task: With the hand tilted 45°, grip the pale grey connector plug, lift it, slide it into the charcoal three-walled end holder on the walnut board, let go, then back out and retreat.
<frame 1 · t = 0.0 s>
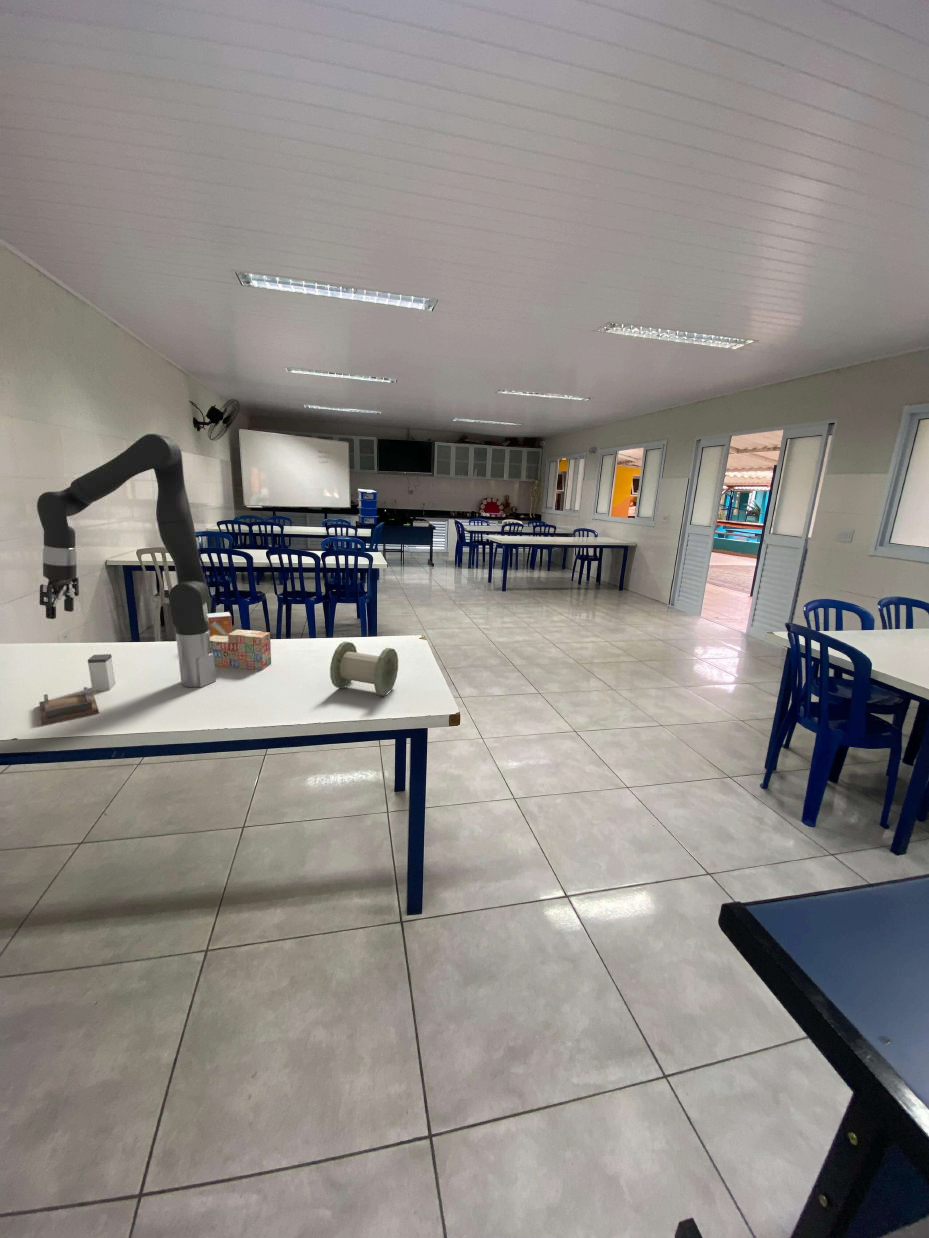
hand: (60, 614, 143), 22 cm above the table, tool pointing down, fingers open, 8 cm apart
connector plug: (104, 687, 148), on the table
small box: (221, 646, 189), on the table
stack of blocks: (239, 665, 173), on the table
spool: (365, 690, 158), on the table
holder board: (69, 709, 134), on the table
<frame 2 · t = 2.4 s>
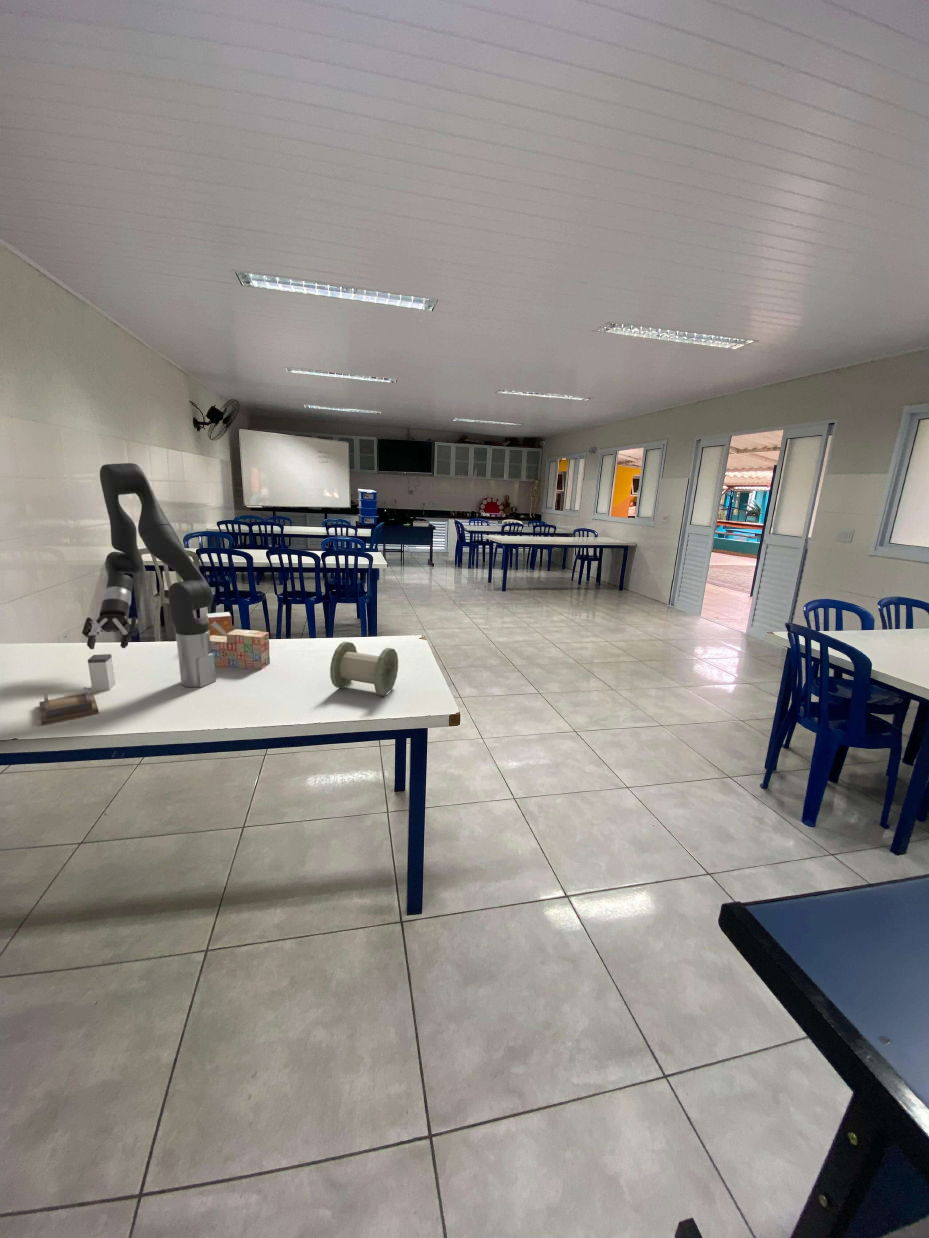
hand: (107, 647, 151), 11 cm above the table, tool tilted 45°, fingers open, 8 cm apart
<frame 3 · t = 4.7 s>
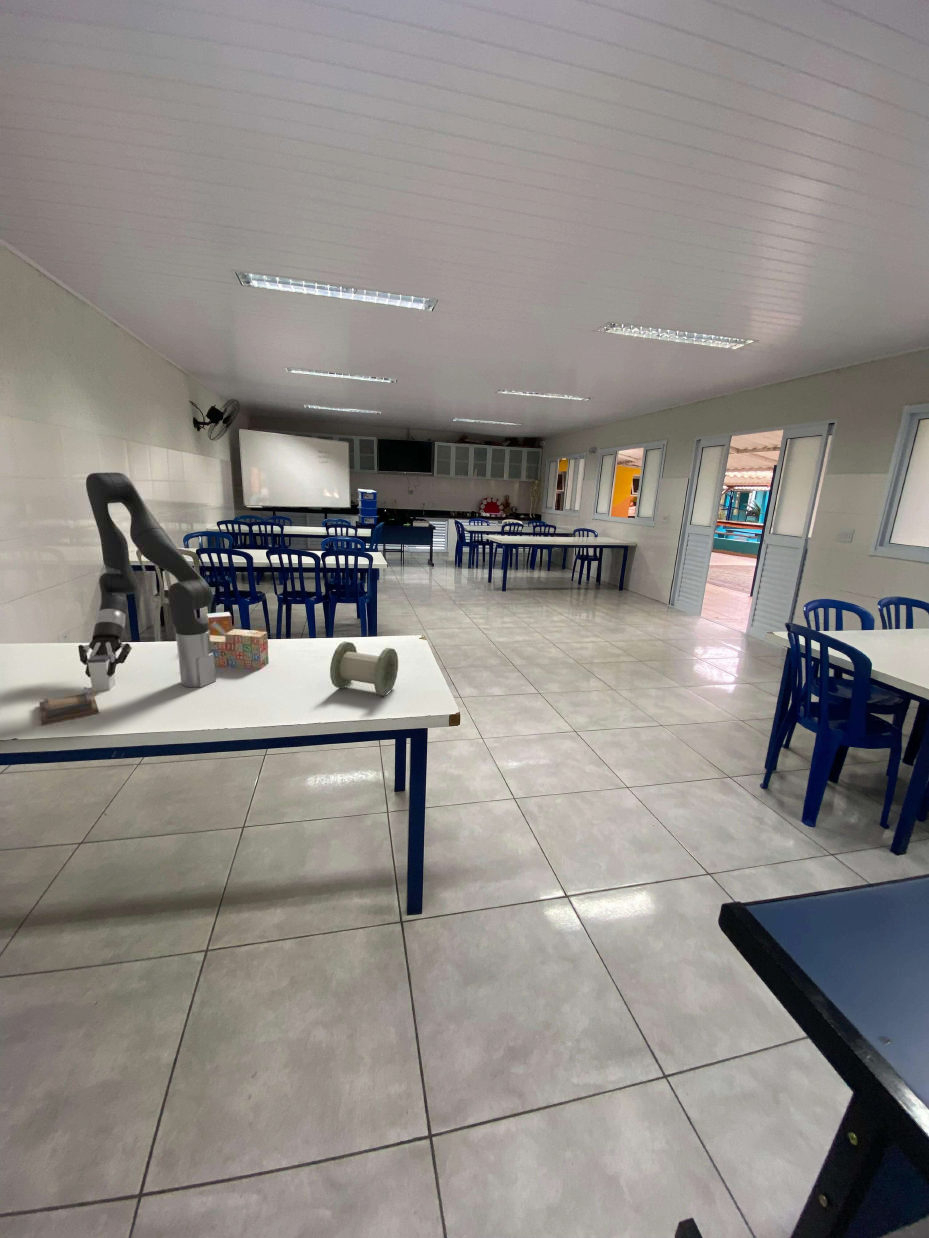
hand: (99, 675, 145), 5 cm above the table, tool tilted 45°, fingers closed on connector plug, 4 cm apart
connector plug: (104, 687, 148), on the table, touching gripper
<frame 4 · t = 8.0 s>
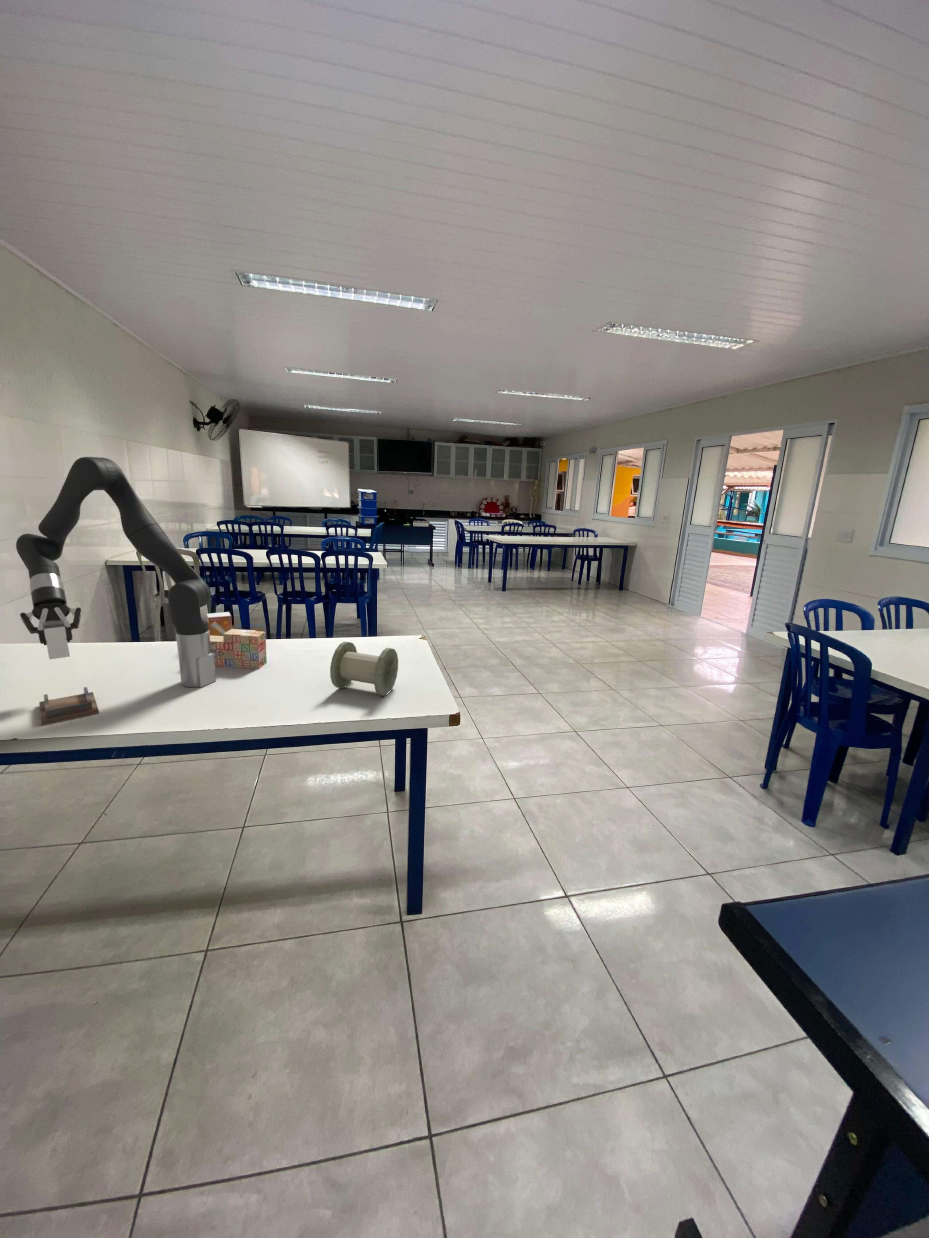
hand: (57, 642, 136), 17 cm above the table, tool tilted 45°, fingers closed on connector plug, 4 cm apart
connector plug: (59, 655, 139), point 12 cm above the table, touching gripper
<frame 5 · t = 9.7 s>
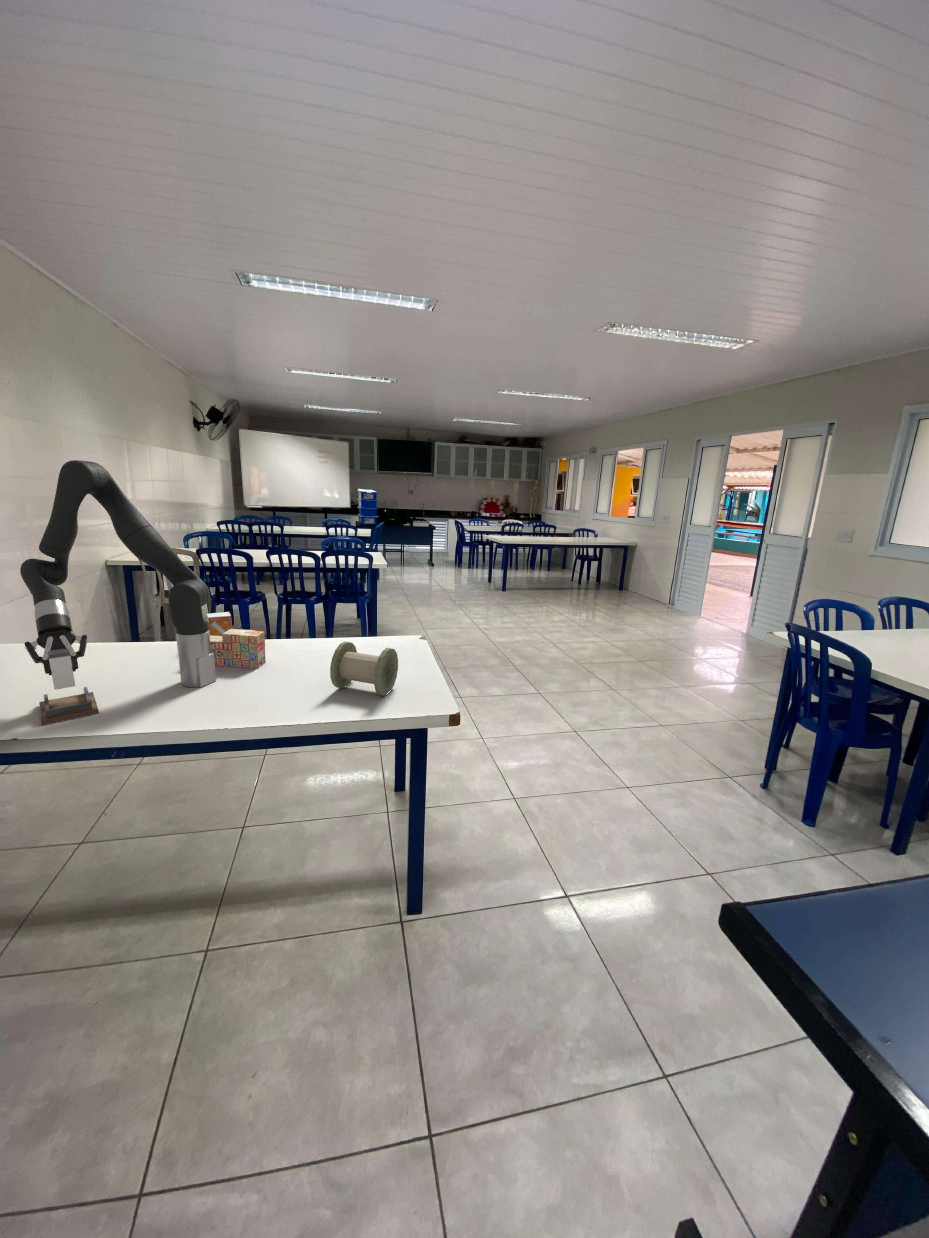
hand: (62, 671, 132), 11 cm above the table, tool tilted 45°, fingers closed on connector plug, 4 cm apart
connector plug: (64, 685, 134), point 6 cm above the table, touching gripper
when the fingers open (7 cm above the table, at t = 11.3 s): connector plug drops 1 cm, resting on holder board.
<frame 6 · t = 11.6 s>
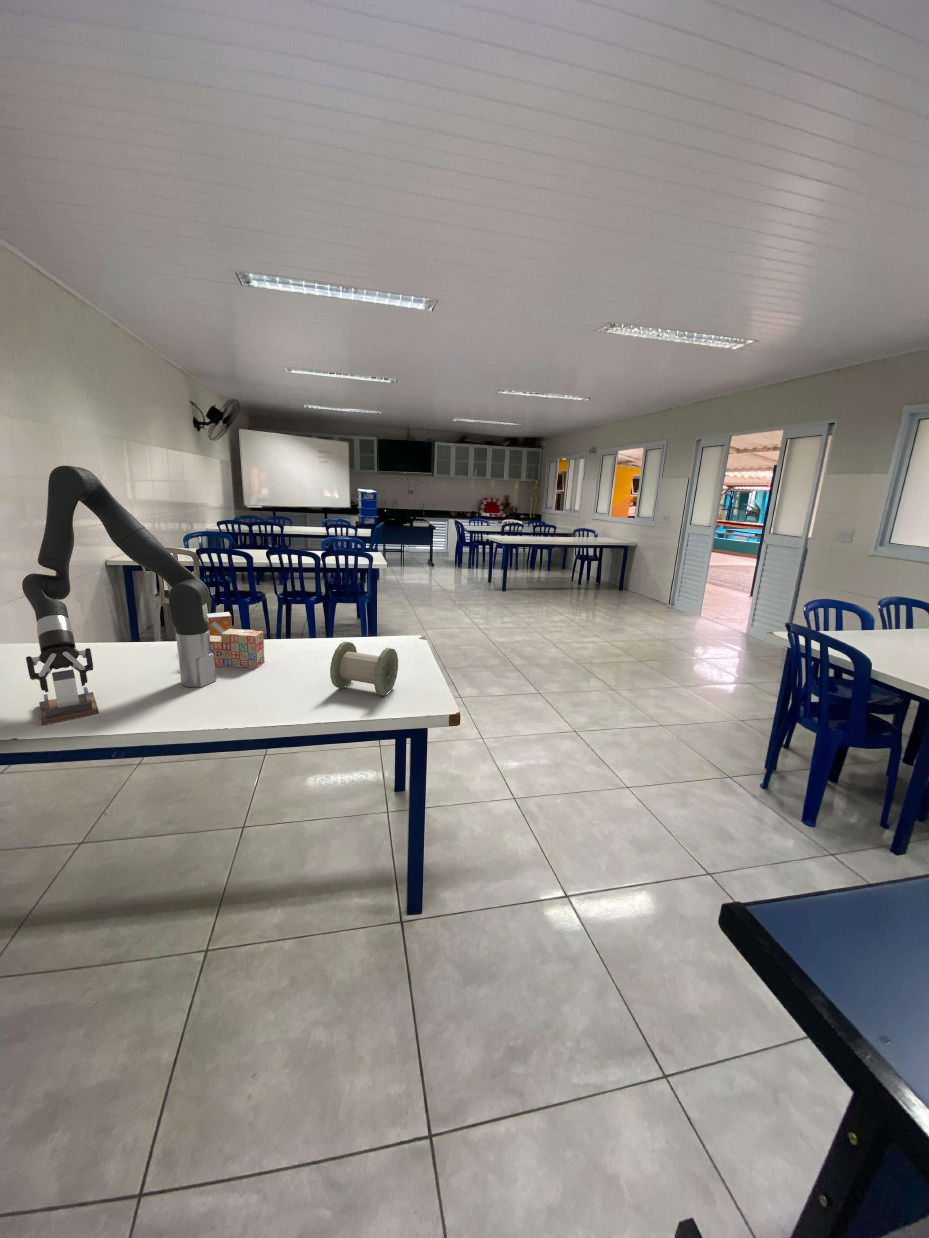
hand: (65, 687, 130), 8 cm above the table, tool tilted 45°, fingers open, 7 cm apart
connector plug: (69, 707, 132), point 1 cm above the table, touching holder board
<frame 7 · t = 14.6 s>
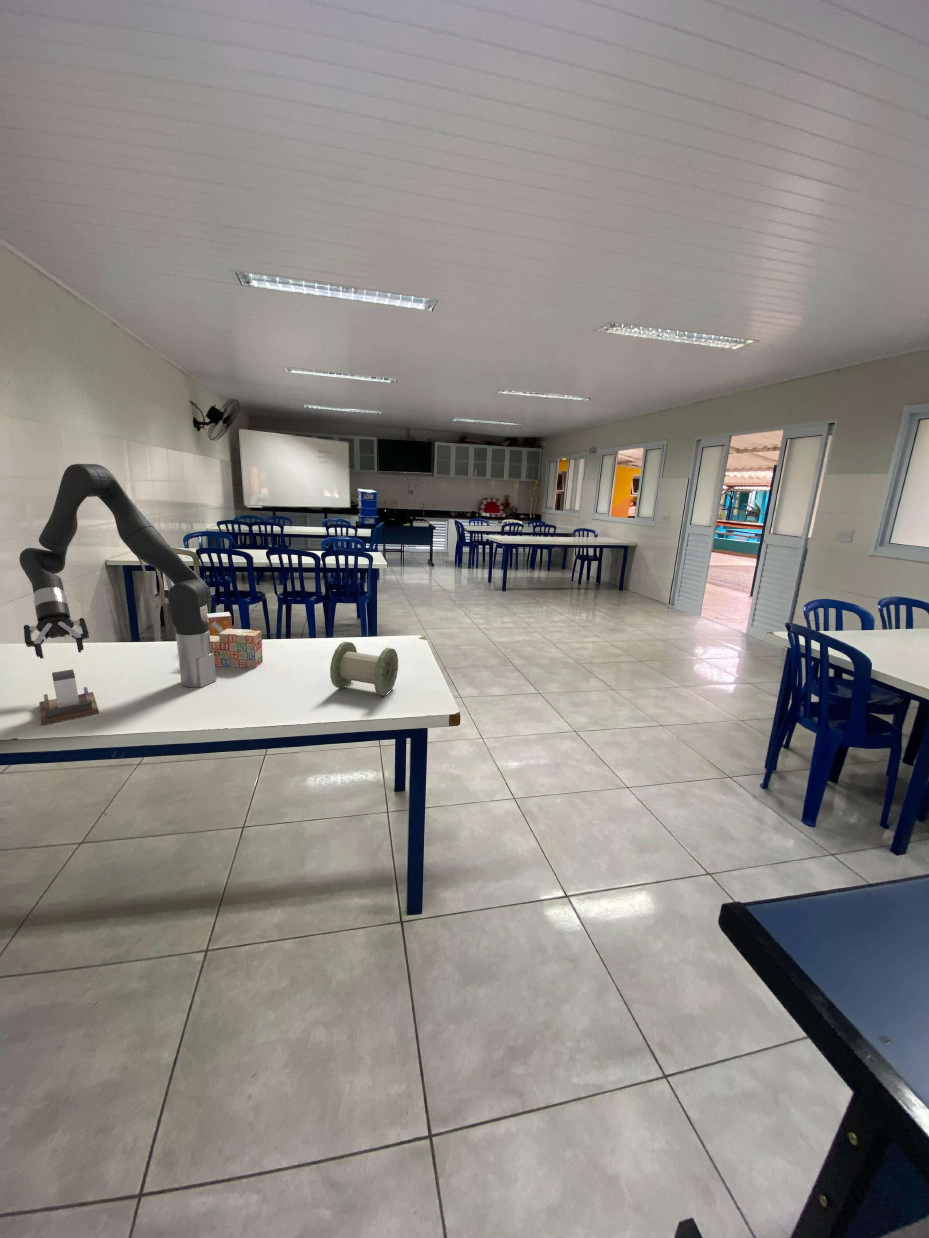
hand: (61, 654, 138), 13 cm above the table, tool tilted 45°, fingers open, 8 cm apart
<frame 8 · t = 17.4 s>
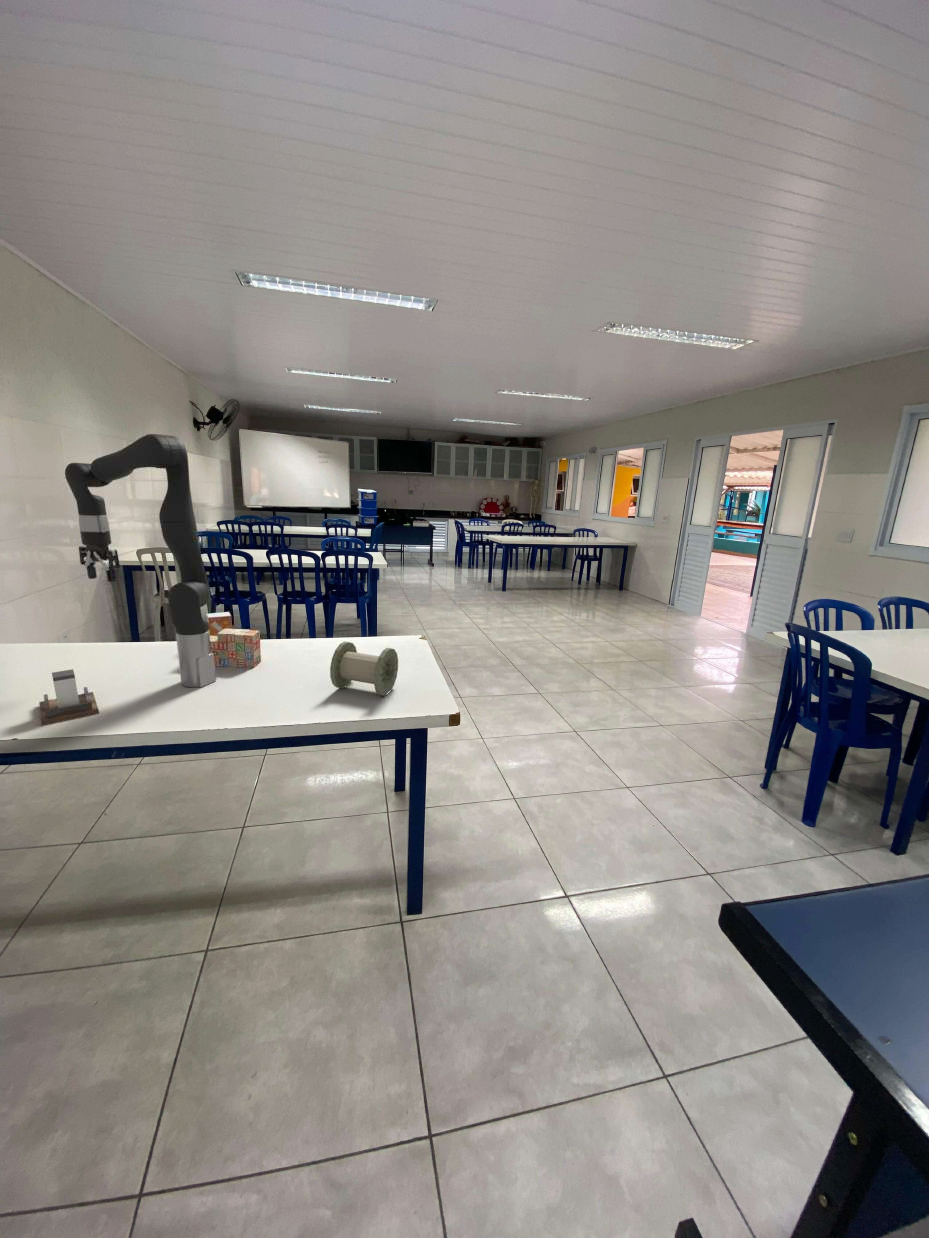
hand: (102, 580, 156), 30 cm above the table, tool pointing down, fingers open, 8 cm apart
at the end: connector plug inside the target area on the holder board (0.3 cm from its centre), point 1.2 cm above the holder board's base; connector plug tilted 0°; the gripper is holding nothing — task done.
